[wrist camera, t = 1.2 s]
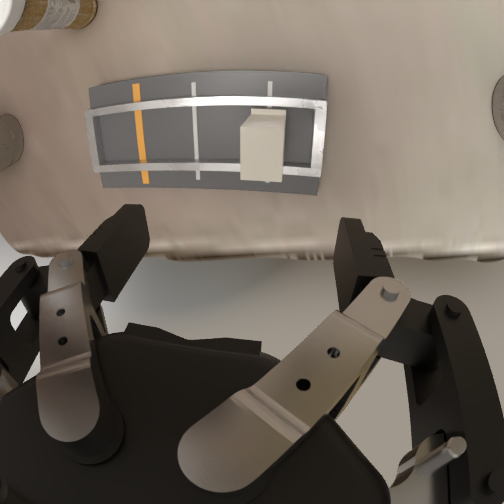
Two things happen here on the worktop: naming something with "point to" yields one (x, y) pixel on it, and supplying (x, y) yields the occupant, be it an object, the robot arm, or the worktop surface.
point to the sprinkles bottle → (45, 14)
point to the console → (204, 129)
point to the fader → (263, 145)
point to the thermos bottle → (10, 141)
